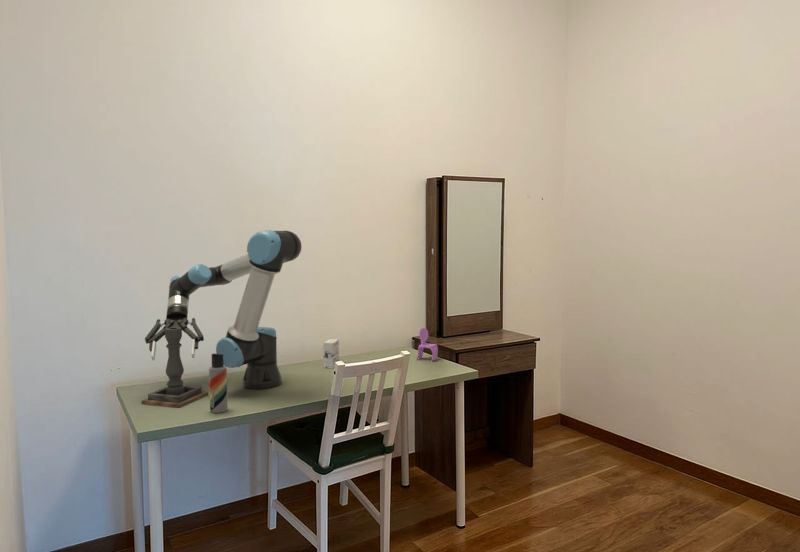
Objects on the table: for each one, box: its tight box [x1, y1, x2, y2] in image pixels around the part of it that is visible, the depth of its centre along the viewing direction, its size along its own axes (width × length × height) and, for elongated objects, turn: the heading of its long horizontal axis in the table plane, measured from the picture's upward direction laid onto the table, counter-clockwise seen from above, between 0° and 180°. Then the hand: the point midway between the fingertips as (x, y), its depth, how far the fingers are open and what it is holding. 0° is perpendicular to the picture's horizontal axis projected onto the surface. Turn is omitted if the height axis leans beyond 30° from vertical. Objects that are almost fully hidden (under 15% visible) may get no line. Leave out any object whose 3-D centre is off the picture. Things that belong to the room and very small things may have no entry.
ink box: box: [322, 338, 340, 369], centre depth 253 cm, size 9×5×12 cm, turn 168°
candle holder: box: [164, 327, 185, 396], centre depth 203 cm, size 6×6×25 cm
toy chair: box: [415, 327, 439, 362], centre depth 265 cm, size 8×9×15 cm
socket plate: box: [141, 385, 209, 409], centre depth 203 cm, size 16×16×3 cm
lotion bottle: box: [208, 353, 229, 414], centre depth 190 cm, size 6×6×20 cm
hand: (173, 357), depth 201 cm, fingers open, 13 cm apart
